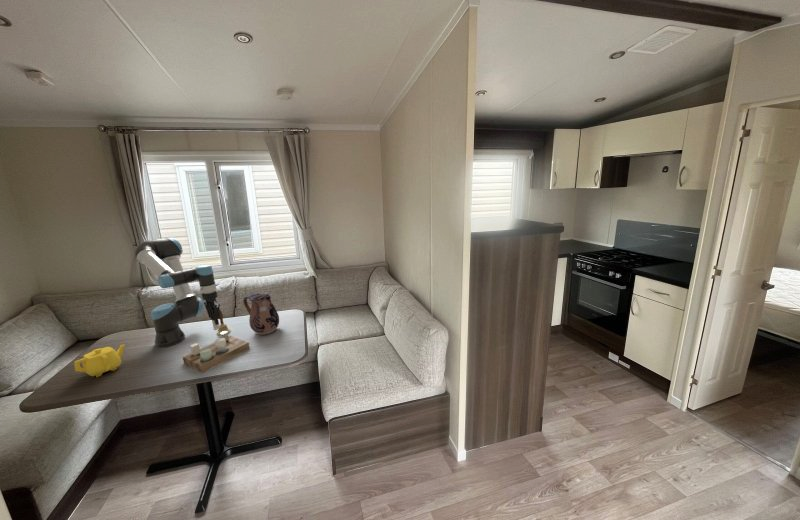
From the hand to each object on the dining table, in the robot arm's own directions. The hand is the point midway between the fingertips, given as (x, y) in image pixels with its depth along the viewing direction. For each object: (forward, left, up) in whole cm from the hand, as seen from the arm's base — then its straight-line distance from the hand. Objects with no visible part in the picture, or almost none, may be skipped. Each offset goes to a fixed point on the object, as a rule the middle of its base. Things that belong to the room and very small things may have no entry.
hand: (217, 329), depth 178 cm
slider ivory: (+7, -16, -6) cm, 18 cm away
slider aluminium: (+7, 0, -6) cm, 9 cm away
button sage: (+18, -16, -6) cm, 24 cm away
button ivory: (+18, -8, -3) cm, 20 cm away
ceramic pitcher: (+10, +23, -10) cm, 27 cm away
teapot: (-30, -44, -10) cm, 54 cm away
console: (+12, -8, -10) cm, 18 cm away
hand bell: (-13, +10, -10) cm, 20 cm away
